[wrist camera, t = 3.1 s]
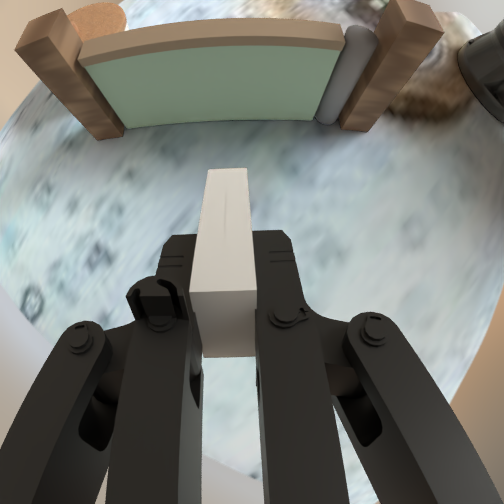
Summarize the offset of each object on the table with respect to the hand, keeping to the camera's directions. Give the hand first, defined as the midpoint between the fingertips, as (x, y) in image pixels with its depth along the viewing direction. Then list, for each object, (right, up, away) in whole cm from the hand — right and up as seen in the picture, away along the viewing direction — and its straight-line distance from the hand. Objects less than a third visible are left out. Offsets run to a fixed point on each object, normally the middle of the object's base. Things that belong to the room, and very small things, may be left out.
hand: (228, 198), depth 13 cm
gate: (-1, +11, +16) cm, 19 cm away
